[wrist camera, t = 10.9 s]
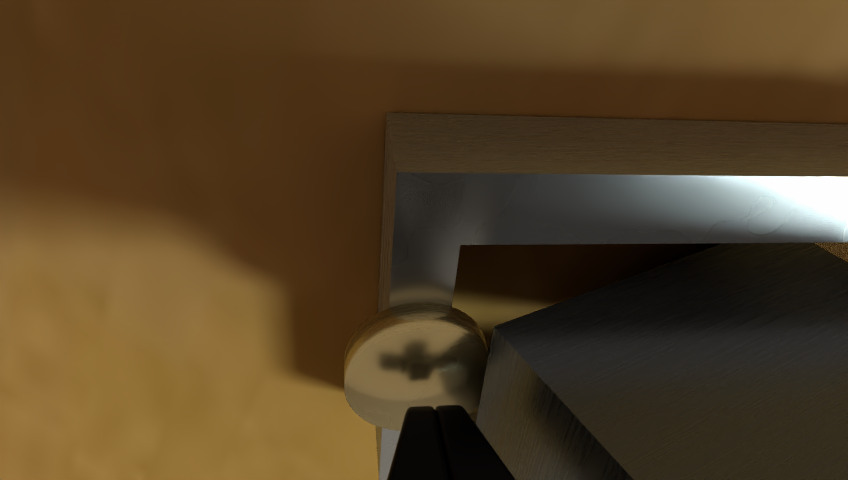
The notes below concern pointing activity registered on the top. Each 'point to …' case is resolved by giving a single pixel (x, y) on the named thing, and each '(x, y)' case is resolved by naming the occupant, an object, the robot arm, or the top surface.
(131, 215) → the top surface
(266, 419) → the top surface
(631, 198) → the end link
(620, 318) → the block with brass studs
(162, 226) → the top surface
